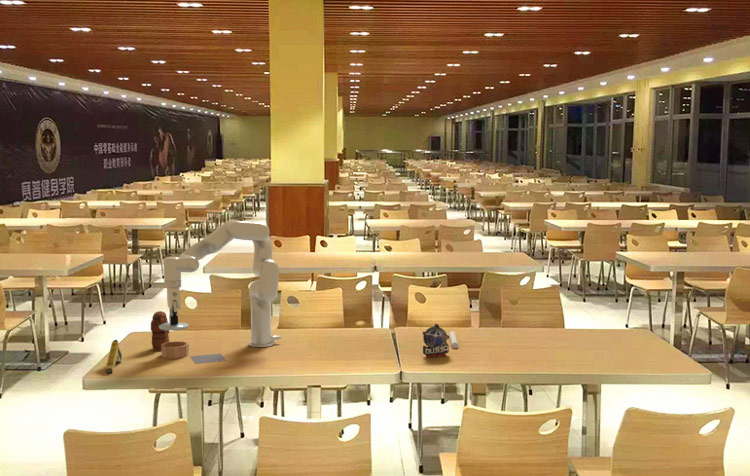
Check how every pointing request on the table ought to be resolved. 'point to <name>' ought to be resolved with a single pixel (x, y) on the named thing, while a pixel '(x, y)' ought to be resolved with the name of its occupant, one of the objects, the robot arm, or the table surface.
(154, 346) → the wooden figurine
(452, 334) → the tube
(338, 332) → the table surface
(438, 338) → the decorative emblem
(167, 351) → the bowl
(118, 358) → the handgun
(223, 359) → the mat
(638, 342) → the table surface
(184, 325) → the lid
